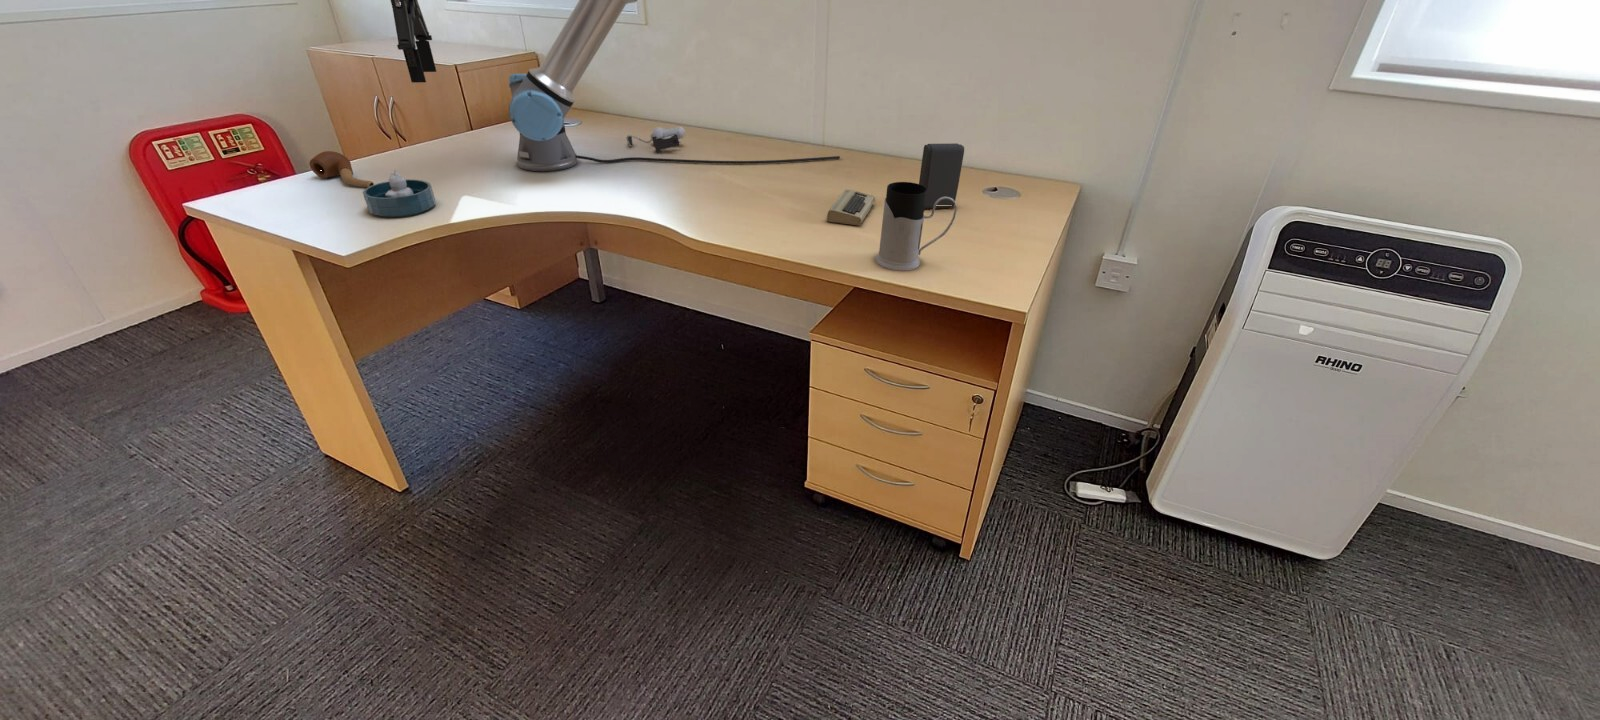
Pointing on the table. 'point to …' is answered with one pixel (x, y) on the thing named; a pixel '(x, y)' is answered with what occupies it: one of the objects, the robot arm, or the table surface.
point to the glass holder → (904, 226)
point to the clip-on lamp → (663, 138)
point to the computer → (850, 207)
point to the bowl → (399, 199)
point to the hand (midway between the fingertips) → (424, 76)
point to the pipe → (335, 168)
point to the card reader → (941, 173)
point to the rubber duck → (398, 186)
